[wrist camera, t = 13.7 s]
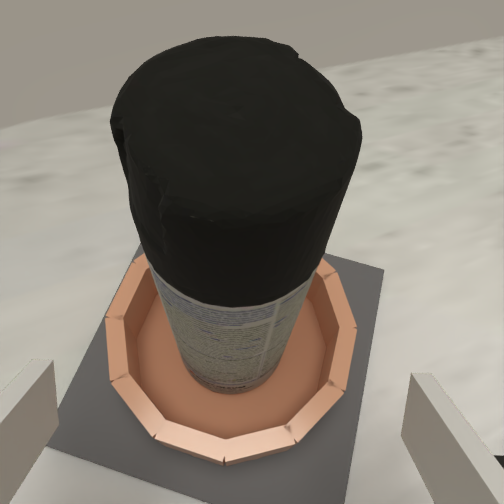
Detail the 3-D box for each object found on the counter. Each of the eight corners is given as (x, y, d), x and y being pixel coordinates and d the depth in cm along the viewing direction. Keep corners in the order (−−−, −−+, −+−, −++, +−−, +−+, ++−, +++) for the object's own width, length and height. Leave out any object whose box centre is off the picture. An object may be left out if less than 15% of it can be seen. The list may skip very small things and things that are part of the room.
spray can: (250, 281, 31) (275, 2, 13) (303, 364, 28) (422, 152, 11) (163, 325, 29) (59, 70, 11) (211, 419, 26) (170, 273, 9)
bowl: (87, 420, 27) (60, 406, 22) (173, 233, 33) (164, 196, 29) (309, 496, 25) (325, 496, 21) (353, 285, 32) (371, 253, 28)
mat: (44, 444, 26) (40, 443, 26) (159, 210, 35) (158, 206, 34) (334, 547, 25) (336, 548, 24) (381, 273, 33) (384, 269, 33)
